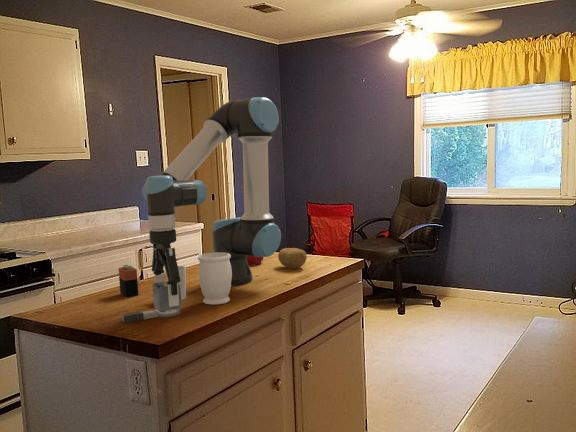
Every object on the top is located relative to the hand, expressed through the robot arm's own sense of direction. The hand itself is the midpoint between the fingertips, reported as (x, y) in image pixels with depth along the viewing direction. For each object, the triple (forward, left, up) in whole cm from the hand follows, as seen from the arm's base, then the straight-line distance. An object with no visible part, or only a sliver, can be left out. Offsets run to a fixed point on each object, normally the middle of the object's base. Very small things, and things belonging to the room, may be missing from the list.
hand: (167, 300), depth 161 cm
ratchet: (+5, 0, -4) cm, 6 cm away
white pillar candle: (-8, -16, -4) cm, 18 cm away
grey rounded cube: (0, 0, -2) cm, 2 cm away
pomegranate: (-52, -51, -4) cm, 73 cm away
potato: (-61, -33, -4) cm, 69 cm away
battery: (+4, -31, -4) cm, 32 cm away
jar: (-17, -4, -4) cm, 18 cm away
